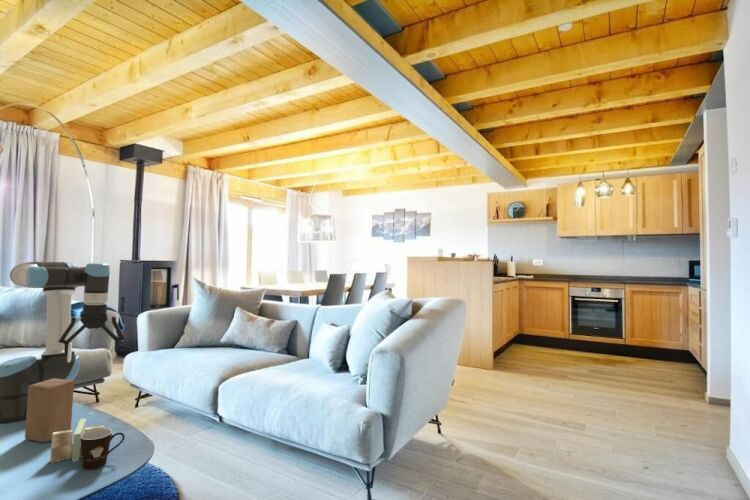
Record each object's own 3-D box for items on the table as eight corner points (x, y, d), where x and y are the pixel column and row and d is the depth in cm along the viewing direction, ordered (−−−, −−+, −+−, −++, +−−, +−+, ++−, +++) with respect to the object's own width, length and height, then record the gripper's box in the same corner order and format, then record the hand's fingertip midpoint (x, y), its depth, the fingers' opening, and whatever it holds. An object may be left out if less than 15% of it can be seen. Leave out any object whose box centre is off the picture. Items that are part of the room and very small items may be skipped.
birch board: (49, 463, 129) (51, 435, 129) (52, 458, 132) (54, 430, 132) (101, 455, 135) (103, 428, 136) (102, 449, 139) (104, 424, 139)
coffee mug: (73, 473, 124) (75, 440, 124) (84, 459, 132) (86, 429, 132) (115, 469, 127) (117, 437, 127) (124, 456, 135) (126, 426, 136)
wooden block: (45, 443, 141) (49, 387, 142) (23, 440, 143) (27, 384, 144) (71, 432, 151) (75, 380, 152) (50, 429, 153) (54, 377, 154)
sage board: (78, 444, 142) (80, 419, 142) (84, 443, 143) (86, 418, 143) (71, 462, 130) (73, 434, 130) (78, 461, 131) (80, 433, 131)
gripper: (51, 305, 140) (47, 365, 140) (133, 304, 153) (129, 359, 152) (55, 303, 147) (51, 360, 146) (134, 302, 159) (130, 355, 159)
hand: (91, 360), depth 149 cm, fingers open, 13 cm apart
